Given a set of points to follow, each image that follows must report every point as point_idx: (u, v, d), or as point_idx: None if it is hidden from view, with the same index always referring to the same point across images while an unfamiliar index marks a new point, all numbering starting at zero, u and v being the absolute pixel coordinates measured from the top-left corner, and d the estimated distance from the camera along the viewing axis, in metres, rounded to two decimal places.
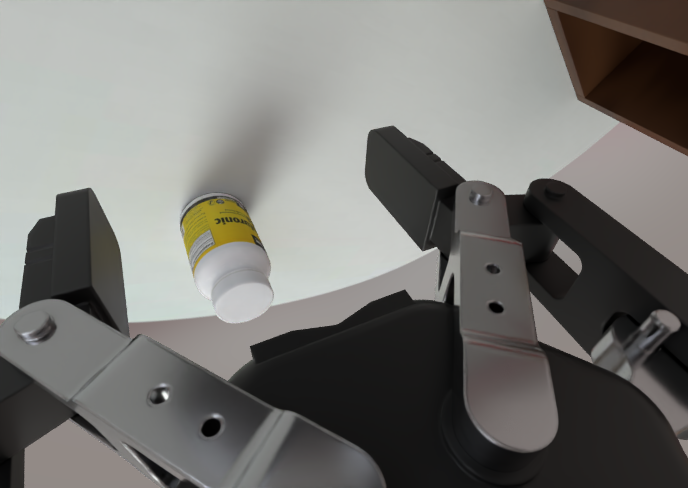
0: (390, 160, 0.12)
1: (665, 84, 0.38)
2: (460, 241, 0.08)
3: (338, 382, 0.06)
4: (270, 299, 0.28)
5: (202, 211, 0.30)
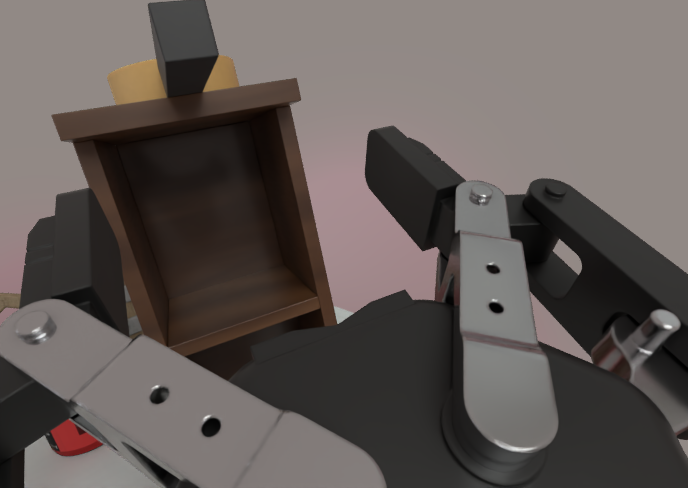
0: (391, 160, 0.12)
1: None
2: (460, 241, 0.08)
3: (338, 382, 0.06)
4: None
5: None
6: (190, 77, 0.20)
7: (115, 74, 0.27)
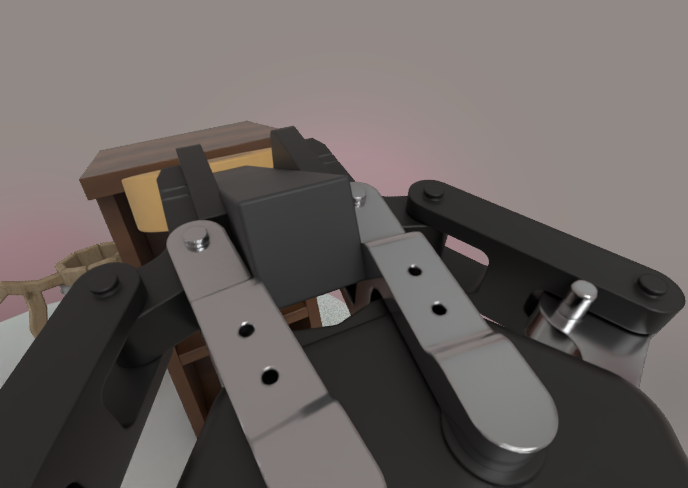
0: (285, 161, 0.12)
1: None
2: (371, 255, 0.08)
3: (338, 382, 0.06)
4: None
5: None
6: None
7: (134, 184, 0.18)
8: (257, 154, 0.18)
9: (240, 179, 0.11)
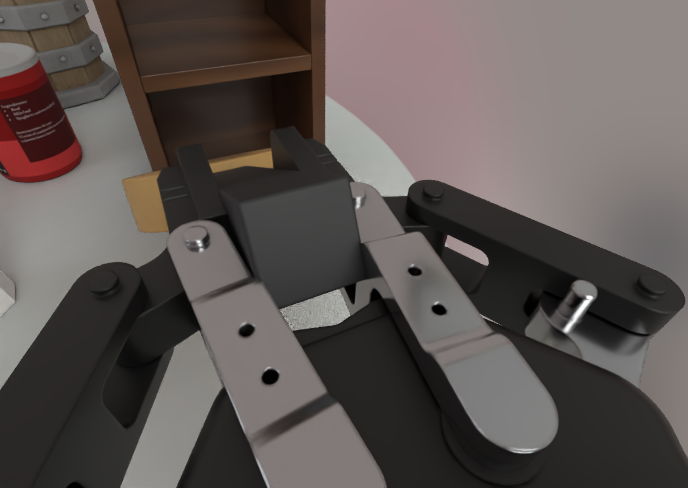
0: (285, 161, 0.12)
1: (296, 117, 0.39)
2: (371, 255, 0.08)
3: (338, 382, 0.06)
4: None
5: None
6: None
7: (134, 184, 0.18)
8: (257, 154, 0.19)
9: (240, 179, 0.11)
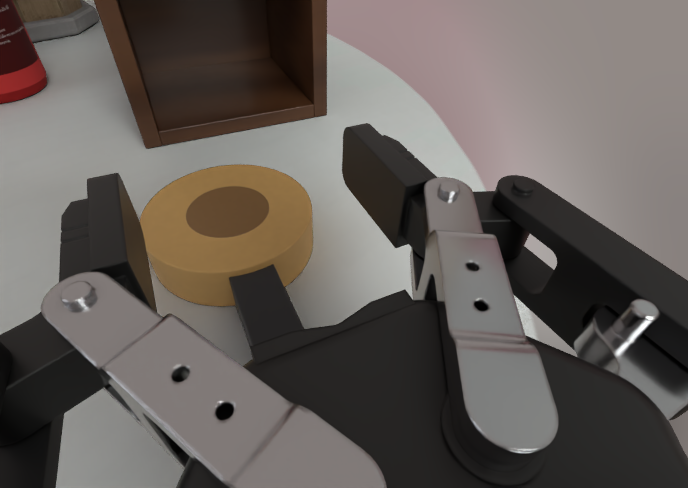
0: (364, 157, 0.12)
1: (293, 24, 0.33)
2: (437, 241, 0.08)
3: (338, 382, 0.06)
4: None
5: None
6: None
7: (162, 264, 0.19)
8: (283, 251, 0.20)
9: None
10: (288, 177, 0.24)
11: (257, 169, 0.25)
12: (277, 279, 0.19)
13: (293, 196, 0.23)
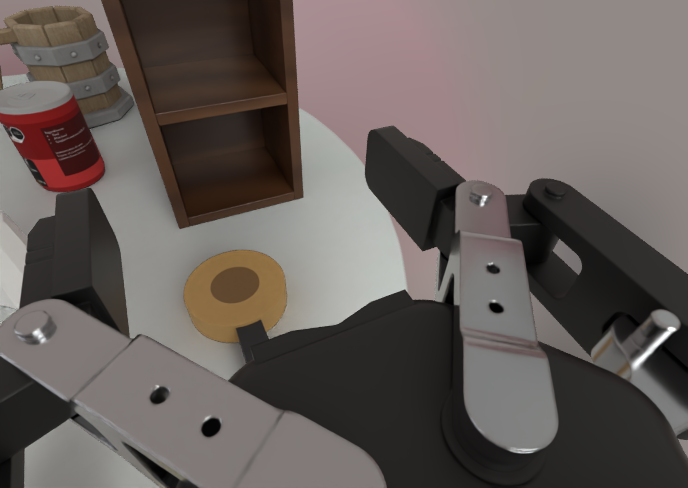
0: (390, 160, 0.12)
1: (279, 138, 0.48)
2: (460, 241, 0.08)
3: (338, 382, 0.06)
4: None
5: None
6: None
7: (198, 320, 0.34)
8: (266, 312, 0.35)
9: None
10: (272, 259, 0.39)
11: (253, 253, 0.40)
12: (262, 329, 0.34)
13: (274, 274, 0.38)
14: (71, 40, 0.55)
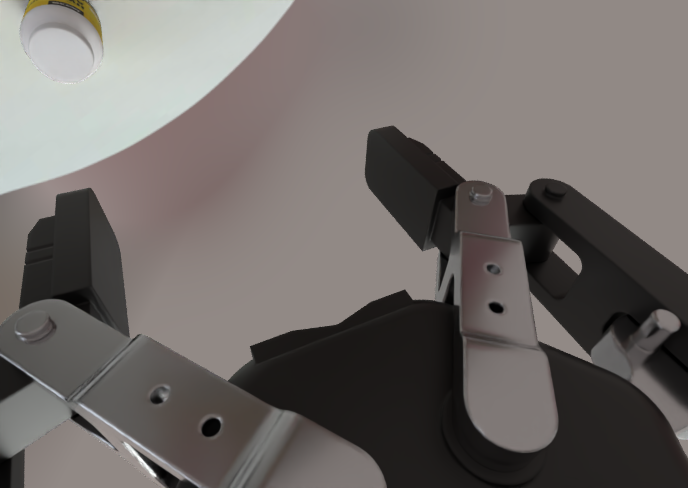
0: (390, 160, 0.12)
1: None
2: (460, 241, 0.08)
3: (338, 382, 0.06)
4: (79, 41, 0.29)
5: None
6: None
7: None
8: None
9: None
10: None
11: None
12: None
13: None
14: None
